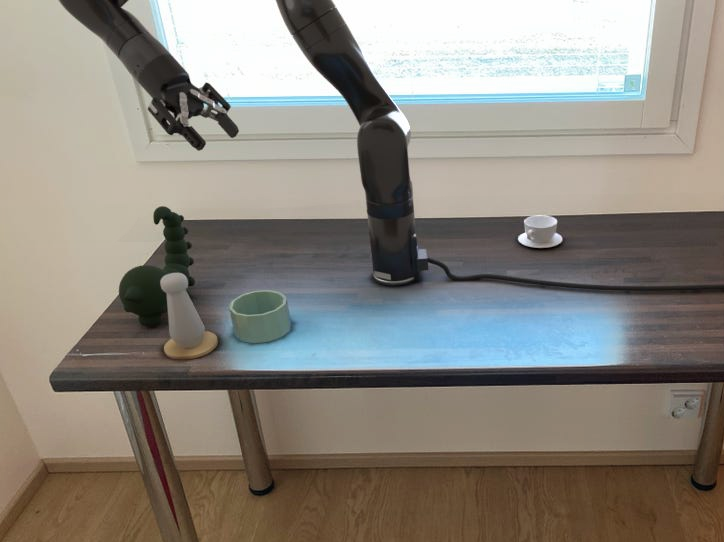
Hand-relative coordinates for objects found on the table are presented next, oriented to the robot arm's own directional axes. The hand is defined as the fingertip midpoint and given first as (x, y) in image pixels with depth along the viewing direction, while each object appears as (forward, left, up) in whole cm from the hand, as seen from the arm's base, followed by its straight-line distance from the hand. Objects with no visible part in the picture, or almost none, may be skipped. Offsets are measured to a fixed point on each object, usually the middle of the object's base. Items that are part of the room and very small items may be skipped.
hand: (219, 140), depth 131 cm
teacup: (-62, -17, -31) cm, 71 cm away
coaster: (+8, +18, -31) cm, 37 cm away
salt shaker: (+8, +18, -30) cm, 36 cm away
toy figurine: (+16, +3, -31) cm, 35 cm away
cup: (-4, +14, -31) cm, 34 cm away
